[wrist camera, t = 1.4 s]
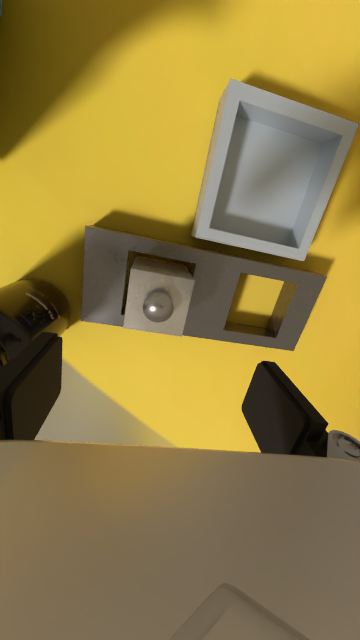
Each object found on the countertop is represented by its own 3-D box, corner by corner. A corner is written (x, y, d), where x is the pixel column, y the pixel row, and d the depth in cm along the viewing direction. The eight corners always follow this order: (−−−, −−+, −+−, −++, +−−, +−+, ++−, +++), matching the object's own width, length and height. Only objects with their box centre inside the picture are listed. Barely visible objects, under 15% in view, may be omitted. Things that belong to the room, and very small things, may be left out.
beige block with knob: (137, 255, 24) (129, 270, 17) (184, 264, 25) (196, 283, 17) (130, 301, 26) (121, 332, 18) (175, 308, 26) (182, 340, 19)
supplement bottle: (77, 288, 24) (14, 344, 13) (67, 343, 27) (6, 428, 16) (5, 268, 23) (-133, 312, 12) (1, 328, 25) (-117, 411, 14)
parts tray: (220, 98, 19) (230, 78, 17) (332, 136, 21) (359, 123, 18) (190, 235, 23) (195, 237, 21) (287, 256, 25) (303, 261, 23)
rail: (87, 311, 25) (80, 320, 23) (92, 225, 22) (85, 225, 20) (282, 340, 30) (293, 350, 27) (311, 271, 26) (327, 276, 24)
